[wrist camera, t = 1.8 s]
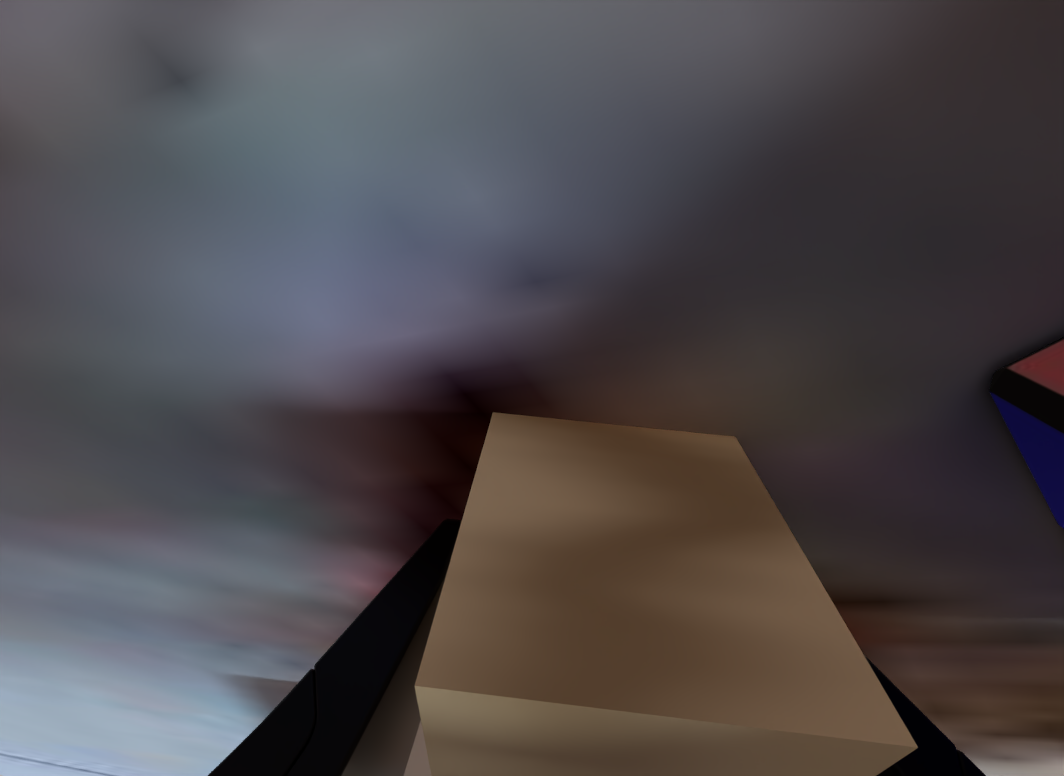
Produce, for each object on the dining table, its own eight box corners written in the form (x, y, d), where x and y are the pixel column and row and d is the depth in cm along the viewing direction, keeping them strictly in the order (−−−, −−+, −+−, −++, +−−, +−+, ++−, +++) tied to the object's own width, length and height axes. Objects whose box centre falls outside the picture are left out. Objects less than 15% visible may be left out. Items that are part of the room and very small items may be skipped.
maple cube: (733, 434, 8) (918, 748, 4) (673, 580, 11) (743, 864, 6) (493, 410, 8) (414, 685, 4) (490, 560, 11) (440, 824, 7)
